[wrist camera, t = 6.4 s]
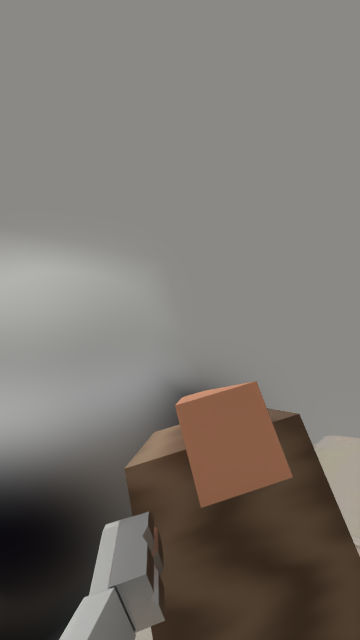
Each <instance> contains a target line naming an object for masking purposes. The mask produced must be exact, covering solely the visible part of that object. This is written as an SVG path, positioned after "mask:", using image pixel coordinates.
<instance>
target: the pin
mask: <svg viewBox="0 0 360 640" xmlns="http://www.w3.org/2000/svg"><path fill="white" fill-rule="evenodd" d="M175 407H176V411H177V415H178V419H179V423H180V427H181V431H182V435H183V439H184V443H185V447H186V451H187V455H188V459H189V463H190V467H191V471H192V474H193V478H194V482H195V486H196V490H197V494H198V498H199V502H200V506H201V508H202V507H205V506H208V505H211V504H214V503H217V502H220V501H223V500H226V499H229V498H232V497H235V496H238V495H241V494H244V493H247V492H250V491H253V490H256V489H259V488H262V487H265V486H268V485H271V484H274V483H277V482H280V481H283V480H286V479H289V478H292V477H293V476H292V473H291V471H290V468H289V466H288V463H287V460H286V458H285V455H284V452H283V450H282V447H281V445H280V442H279V439H278V437H277V434H276V431H275V429H274V426H273V424H272V421H271V418H270V416H269V413H268V410H267V408H266V405H265V403H264V400H263V397H262V395H261V392H260V390H259V387H258V384H257V382H250V383H244V384H239V385H234V386H228V387H223V388H217V389H212V390H207V391H203V392H199V393H196V394H192V395H189V396H185V397H182V398H181V399H180V401H179V402H178V403H177V404H176V405H175Z"/></svg>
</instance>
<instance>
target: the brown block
mask: <svg viewBox="0 0 360 640" xmlns="http://www.w3.org/2000/svg"><path fill="white" fill-rule="evenodd" d="M267 410H268V413H269V416H270V418H271V421H272V424H273V426H274V429H275V431H276V434H277V437H278V439H279V442H280V445H281V447H282V450H283V452H284V455H285V458H286V460H287V463H288V466H289V468H290V471H291V473H292V476H293V477H292V478H289V479H286V480H283V481H280V482H277V483H274V484H271V485H268V486H265V487H262V488H259V489H256V490H253V491H250V492H247V493H244V494H241V495H238V496H235V497H232V498H229V499H226V500H223V501H220V502H217V503H214V504H211V505H208V506H205V507H202V508H201V506H200V502H199V498H198V494H197V490H196V486H195V482H194V478H193V474H192V471H191V467H190V463H189V459H188V455H187V451H186V447H185V443H184V439H183V435H182V431H181V427H180V425H177V426H173V427H170V428H167V429H163V430H160V431H157V432H154V433H153V434H152V436H151V437H150V438H149V439H148V440H147V442H146V443H145V444H144V445H143V447H142V448H141V449H140V450H139V452H138V453H137V454H136V455H135V456H134V458H133V459H132V460H131V461H130V463H129V464H128V465H127V466H126V467H125V474H126V479H127V485H128V492H129V498H130V504H131V510H132V516H136V515H139V514H143V513H146V512H150V511H151V512H152V515H153V517H154V527H156V528H158V530H159V533H160V537H161V541H162V549H163V562H164V568H163V570H162V572H161V575H160V577H161V580H162V582H163V585H164V596H165V621H163V622H160V623H158V624H156V625H153V626H151V630H152V636H153V640H360V556H359V554H358V552H357V549H356V547H355V545H354V542H353V540H352V537H351V535H350V533H349V530H348V528H347V526H346V523H345V521H344V519H343V516H342V514H341V511H340V509H339V507H338V504H337V502H336V500H335V497H334V495H333V493H332V490H331V488H330V485H329V483H328V481H327V478H326V476H325V474H324V471H323V469H322V467H321V464H320V462H319V459H318V457H317V455H316V452H315V450H314V448H313V445H312V443H311V441H310V438H309V436H308V433H307V431H306V429H305V426H304V424H303V422H302V419H301V417H300V415H299V414H297V413H291V412H285V411H279V410H273V409H268V408H267Z"/></svg>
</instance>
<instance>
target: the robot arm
mask: <svg viewBox="0 0 360 640" xmlns="http://www.w3.org/2000/svg"><path fill="white" fill-rule="evenodd" d="M163 568H164V562H163V549H162V541H161V537H160V533H159V530H158V528H156V527H154V517H153V515H152V512H151V511H150V512H146V513H143V514H139V515H136V516H133V517H129V518H126V519H123V520H120V521H116V522H113V523H110V524H107V525H106V526H105V528H104V530H103V533H102V537H101V542H100V547H99V552H98V556H97V561H96V566H95V570H94V575H93V580H92V584H91V589H90V594H89V596H87V597H85V598H83V600H82V602H81V604H80V605H79V607H78V609H77V610H76V612H75V614H74V615H73V617H72V619H71V621H70V622H69V624H68V626H67V627H66V629H65V631H64V633H63V634H62V636H61V638H60V639H59V640H135V637H136V634H135V633H136V632H138V631H141V630H143V629H146V628H148V627H151V626H153V625H156V624H158V623H160V622H163V621H165V596H164V585H163V582H162V580H161V577H160V575H161V572H162V570H163Z"/></svg>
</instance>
